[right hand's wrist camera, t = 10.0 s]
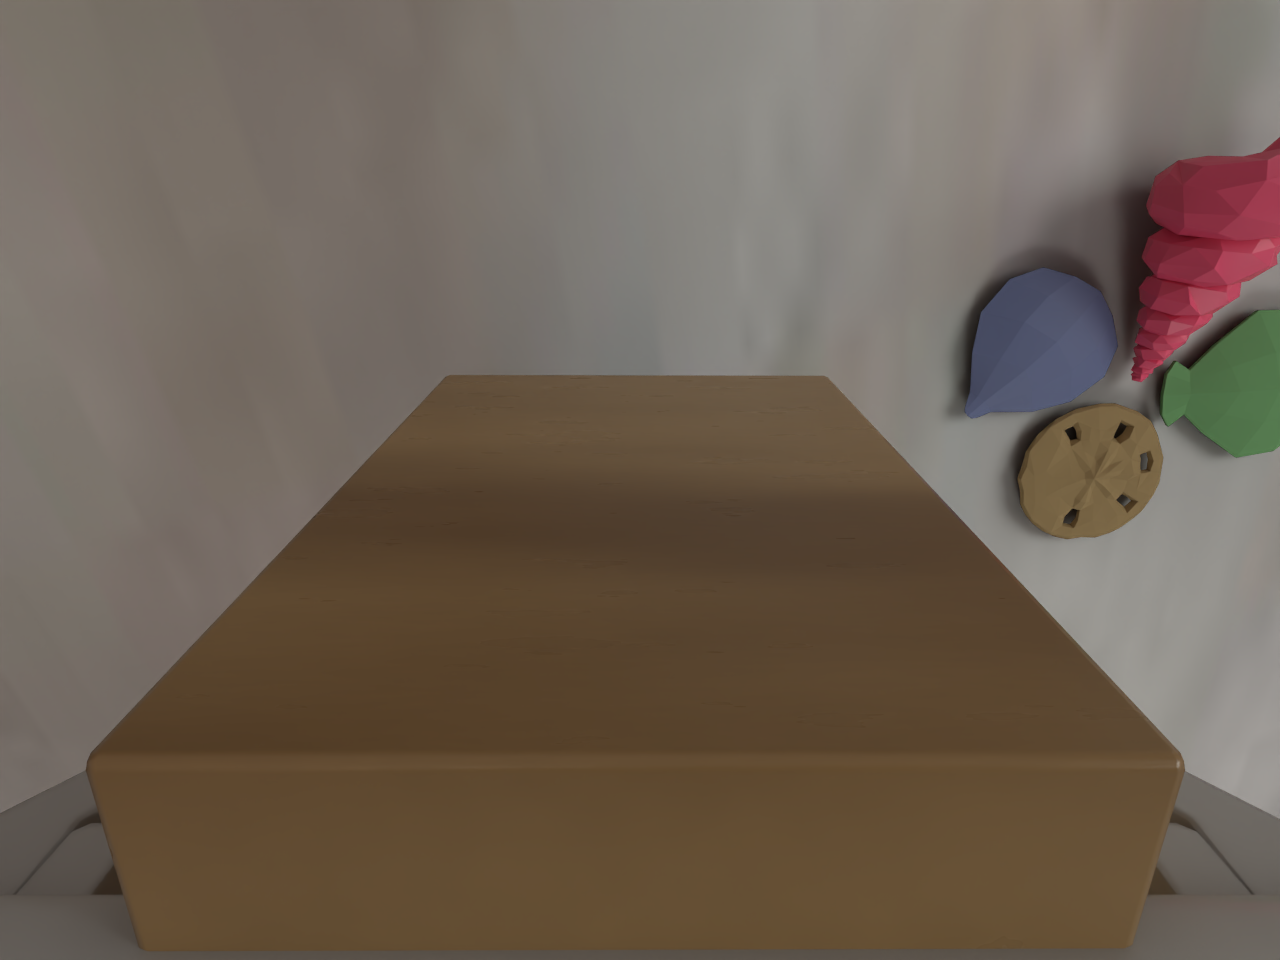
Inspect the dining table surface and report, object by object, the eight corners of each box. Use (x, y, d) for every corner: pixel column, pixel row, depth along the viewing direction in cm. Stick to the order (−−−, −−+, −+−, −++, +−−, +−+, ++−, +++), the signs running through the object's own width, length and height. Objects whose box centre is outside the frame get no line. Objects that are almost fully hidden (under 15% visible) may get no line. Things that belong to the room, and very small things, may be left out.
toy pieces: (935, 209, 24) (997, 215, 20) (1327, 100, 23) (1479, 83, 19) (982, 561, 28) (1042, 627, 24) (1317, 482, 27) (1440, 537, 23)
